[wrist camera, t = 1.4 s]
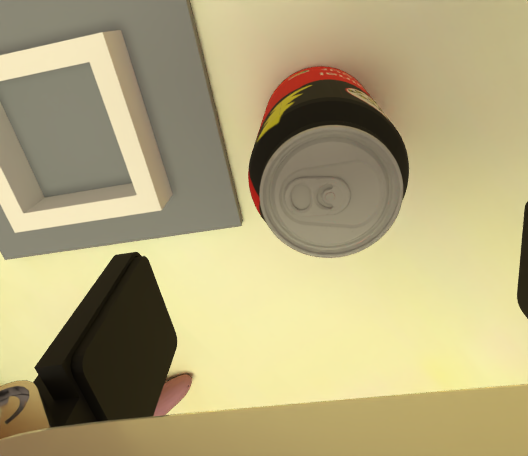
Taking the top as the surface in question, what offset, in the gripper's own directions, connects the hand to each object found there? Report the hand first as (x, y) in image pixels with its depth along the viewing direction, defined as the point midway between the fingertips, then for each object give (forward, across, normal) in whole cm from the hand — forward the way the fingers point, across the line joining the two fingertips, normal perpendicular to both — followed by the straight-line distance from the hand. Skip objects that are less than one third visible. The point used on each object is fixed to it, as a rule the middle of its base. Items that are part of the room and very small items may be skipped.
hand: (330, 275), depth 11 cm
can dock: (+17, +14, -2) cm, 23 cm away
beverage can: (+17, 0, 0) cm, 17 cm away
